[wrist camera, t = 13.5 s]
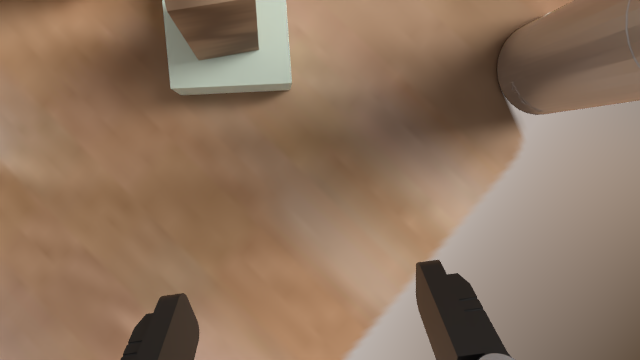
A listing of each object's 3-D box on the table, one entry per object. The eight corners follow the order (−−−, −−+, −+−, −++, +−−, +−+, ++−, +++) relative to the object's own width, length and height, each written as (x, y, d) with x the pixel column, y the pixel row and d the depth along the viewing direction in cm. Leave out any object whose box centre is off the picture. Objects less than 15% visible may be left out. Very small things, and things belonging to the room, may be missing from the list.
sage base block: (282, -18, 36) (283, -39, 32) (289, 90, 36) (291, 83, 32) (171, -16, 34) (158, -38, 31) (182, 95, 35) (170, 88, 31)
